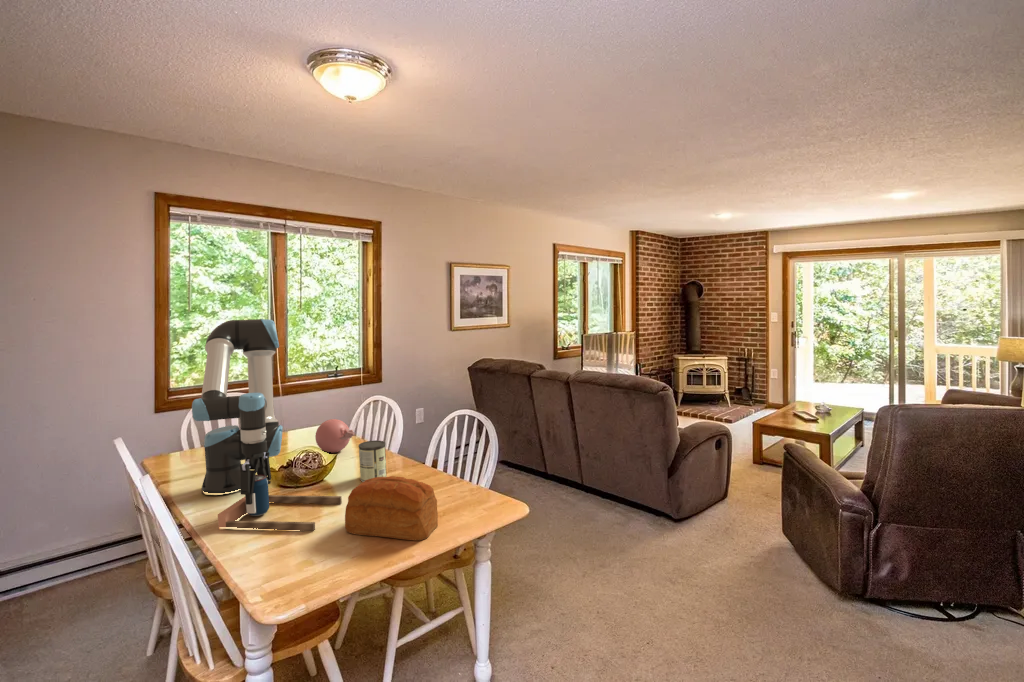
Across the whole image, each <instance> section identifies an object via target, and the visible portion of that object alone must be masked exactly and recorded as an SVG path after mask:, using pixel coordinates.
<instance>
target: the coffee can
mask: <svg viewBox="0 0 1024 682" xmlns="http://www.w3.org/2000/svg"><path fill="white" fill-rule="evenodd" d="M358 455H359V474H360V476H359V477H360V479H359V480H361V481H362V482H364V481H365V480H368V479H371V478H375V477H388V476H387V459H386V458H387V457H386V455H387V454H386V442H385V441H384V440H368V441H363V442H360V443H359V444H358ZM361 481H360V482H361ZM362 482H361V483H362Z"/></svg>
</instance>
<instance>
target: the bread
mask: <svg viewBox="0 0 1024 682" xmlns="http://www.w3.org/2000/svg"><path fill="white" fill-rule="evenodd" d="M344 514H345V515H344V525H345V526H344V527H345V530H346V532H347V533H349V534H351V535H352V534H353V535H360V536H367V537H368V536H371V537H382V538H387V539H388V538H389V539H390V538H391V539H397V540H398V539H399V540H406V541H423V540H425V539H427V538H429V537H430V536H431V534H432V533H433V532H434V531H435V530H436V529H437V527H438V525H439V524H438V523H439V519H438V514H439V513H438V498H436V495H435V491H434V488H433V486H431V485H429V484H427V483H425V482H422V481H418V480H416V479H412V478H407V477H403V476H396V475H395V476H394V475H391V476H387V477H375V478H371V479H368V480H365V481H364V482H361V483H360V484H358V485H357V486H356V487H354V488H353V489H352V490H351V492H349V495H348V497H347V504H346V506H345V513H344Z"/></svg>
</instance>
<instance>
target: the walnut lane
mask: <svg viewBox="0 0 1024 682" xmlns="http://www.w3.org/2000/svg"><path fill="white" fill-rule="evenodd" d="M269 502H274V503H303V504H302V505H310V504H309V503H315V504H314V505H342V503H343V501H342V496H341V495H291V494H290V495H289V494H288V495H285V494H284V495H281V494H280V495H279V494H278V495H277V494H276V495H274V494H272V495H271V494H269ZM274 503H273V504H274ZM226 527H237V528H253V529H254V528H256V529H257V528H258V529H274V530H275V529H277V530H300V531H299V532H304V531H314V530H316V522H315V521H267V520H266V521H265V520H263V521H261V520H260V521H259V520H258V521H257V520H239V521H227V522H226ZM314 532H315V531H314Z"/></svg>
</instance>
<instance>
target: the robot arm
mask: <svg viewBox="0 0 1024 682" xmlns="http://www.w3.org/2000/svg"><path fill="white" fill-rule="evenodd" d="M276 328H277V327H276V323H275V321H274V320H273V319H267V318H266V319H265V318H264V319H263V318H259V319H255V318H254V319H231V320H226V321H224V322H222V323H220V324H219V325H218V326H216V327H215V328H214V329H212V331H211V332H210V333H209V335H208V336H207V339H206V340H205V341H206V342H205V347H204V351H205V352H206V353H207V355H206V360H205V361H206V362H205V367H204V368H205V369H204V375H203V382H202V383H203V384H202V389H201V390H202V391H201V397H199V398H195V399H194V400H193V401H192V402H191V413H192V414H191V415H192V418H193V420H194V421H195V422H210V421H219V420H221V421H222V420H229V419H230V420H231V419H239V423H240V426H238V425H227V426H221V427H218V428H214V429H212V430H210V431H208V432H207V433H206V434H205V435H204V439H203V440H204V441H203V442H204V443H203V448H204V458H205V473H204V479H203V481H202V485H201V491H202V490H203V491H204V492H208V493H225V492H231V491H235V490H238V489H241V491H240V495H241V496H242V495H243V496H244V495H246V509H247V513H256V502H255V493H253V490H254V483H255V475H265V476H266V479H267V480H268V485H270V484H271V483H272V481H271V480H272V474H271V466H270V465H271V464H270V458H271V457H276V456H278V455H280V453H281V449H282V440H283V428H284V427H283V425H281V424H280V425H279V420H278V419H277V418H275V410H274V386H273V385H274V384H273V382H274V380H273V361H272V358H273V356H274V355H275V354H276V349H279V348H280V343H279V339H278V338H279V337H278V331H277V329H276ZM236 350H237V351H240V350H242V354H243V355H244V356H245V357H246V358H247V380H248V392H247V393H242V394H240V395H234V396H232V395H231V396H228V385H229V376H230V375H229V374H230V364H231V356H232V355H233V353H234V351H236ZM242 461H244V463H242Z"/></svg>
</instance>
